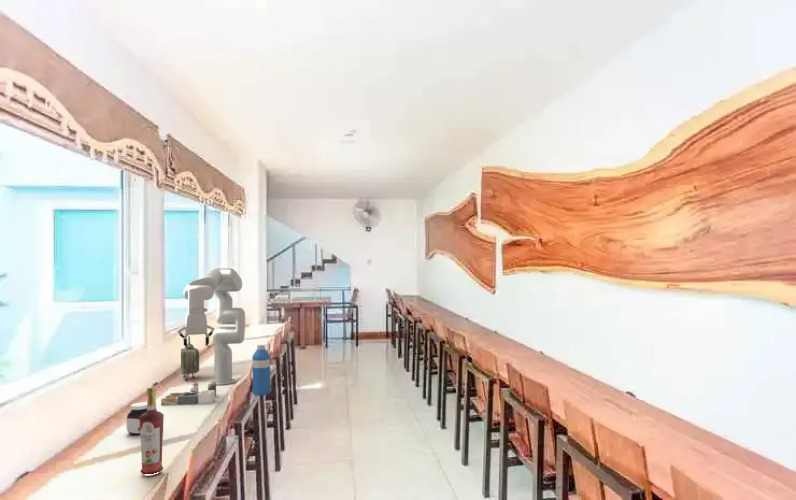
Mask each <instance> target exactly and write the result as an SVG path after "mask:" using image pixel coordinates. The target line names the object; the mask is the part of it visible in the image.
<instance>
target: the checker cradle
mask: <svg viewBox="0 0 796 500" xmlns="http://www.w3.org/2000/svg"><path fill="white" fill-rule="evenodd" d="M199 392H200V391H198V392H190V391H189V392H188V391H184V392H181V393H182V394H181V395H179V396H178V406H179V405H198V393H199ZM187 395H193V396H187Z"/></svg>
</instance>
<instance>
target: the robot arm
mask: <svg viewBox="0 0 796 500" xmlns="http://www.w3.org/2000/svg"><path fill="white" fill-rule="evenodd" d="M242 288H243V281H242V277H240V275H239V273H238V272H237V271H236V270H235V269H233V268H232V267H228V268H227V267H225V268H222V267H221V268H219V267H217V268H214V269H212V270H210V272H209V273H208V274H207V275H205V276H203V277H200V278H198V279H194V280H192V281H190V282H189V283H187V285H186V286H185V288H184V289H183V296H184V298H185V300H186V301H187V314H186V315H185V320H184V321H185V324H184V326H183V327H181V328H179V329H177V333H178V335H179V336H180V338H182V339H183V346H184V348H185V347H187V344H188V337H189V336H194V335H205V346H206V347H208V345H209V344H210V337H211V336H212V341H213V349H214V353H213V354H214V380H211V382H216V386H225V385H227V386H228V385H232V384H234V383H236V380H235V379H234V378H233V351H232V348H231V347H230V346H229V345H230V344H231V345H232V344H233V345H236V344H238V345H239V344H242V343H243V342H244V341H245V337H246V335H245V334H246V312H245V310H244V309H243V308H242V307H233V301H234V300H233V297H232V296H231V294H230V293H231V292H233V293H234V292H240V291H241V290H242ZM229 292H230V293H229ZM214 295H215V297H216V314H215V315H216V323H218V324H219V325H235V326H219V327H214V326H211V325H209V324H208V319H207V315H206V313H205V312H208V308H206V307H205V301H209V300H212V298H213V297H214ZM208 329H209V330H210V332H208ZM182 331H184V332H185V334H183V333H182Z"/></svg>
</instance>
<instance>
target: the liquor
mask: <svg viewBox="0 0 796 500" xmlns="http://www.w3.org/2000/svg"><path fill="white" fill-rule="evenodd" d="M146 394H147V395H146V396H147V401H146V402H147V412H146V413H144V414H142V415H141V416H140V417H139V420H140V435H139V438H140V448H141V449H140V450H141V469H140V473H141V474H142V475H143V474H154V473H157V472H160V471H161V472H162V471H163V470H164V466H163V465H162V464H163V439H164V438H163V437H164V418H165V417H164V415H165V414H164V413H162V412H161V411H158V410H157V403H156V401H157V400H156V395H157V387H155V386H151V387H147V388H146ZM161 472H160V473H161Z"/></svg>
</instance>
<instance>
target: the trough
mask: <svg viewBox="0 0 796 500" xmlns="http://www.w3.org/2000/svg"><path fill="white" fill-rule="evenodd" d="M182 393H183V392H170V393H168V394H167V395H165V396H163V397H162V398H161V399H160V403H161V404H160V405H161V406H177V405H178V396H179V395H181V394H182ZM178 406H179V405H178Z"/></svg>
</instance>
